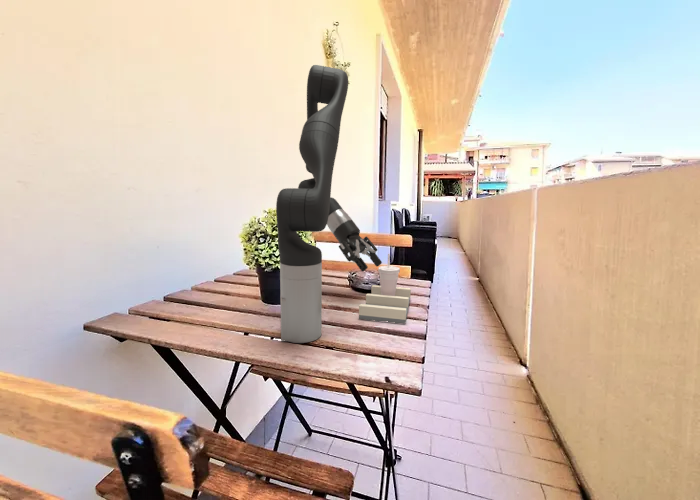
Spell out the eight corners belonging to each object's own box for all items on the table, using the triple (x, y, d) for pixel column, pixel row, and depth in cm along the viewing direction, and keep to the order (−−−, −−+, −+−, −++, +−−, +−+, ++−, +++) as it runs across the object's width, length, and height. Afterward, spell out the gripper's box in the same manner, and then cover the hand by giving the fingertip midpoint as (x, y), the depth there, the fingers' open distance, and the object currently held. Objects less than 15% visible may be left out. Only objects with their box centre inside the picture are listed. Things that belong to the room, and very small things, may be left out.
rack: (405, 324, 85) (405, 310, 84) (358, 319, 88) (359, 305, 87) (410, 299, 104) (410, 288, 104) (372, 296, 107) (372, 285, 106)
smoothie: (373, 300, 99) (375, 254, 96) (382, 295, 104) (383, 250, 102) (394, 304, 96) (396, 256, 94) (401, 298, 102) (403, 253, 99)
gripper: (336, 220, 99) (368, 263, 94) (361, 217, 110) (391, 256, 106) (321, 236, 102) (352, 279, 98) (348, 232, 114) (376, 270, 110)
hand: (372, 267), depth 102 cm, fingers open, 8 cm apart
